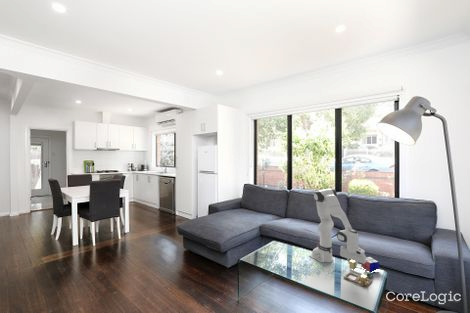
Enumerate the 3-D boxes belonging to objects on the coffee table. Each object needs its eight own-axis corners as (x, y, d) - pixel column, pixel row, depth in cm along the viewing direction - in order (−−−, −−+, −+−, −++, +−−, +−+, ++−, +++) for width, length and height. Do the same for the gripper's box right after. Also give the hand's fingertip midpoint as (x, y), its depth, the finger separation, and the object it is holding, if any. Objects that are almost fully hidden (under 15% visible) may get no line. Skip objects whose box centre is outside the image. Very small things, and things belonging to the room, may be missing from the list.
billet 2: (360, 283, 188) (360, 276, 187) (362, 280, 191) (362, 273, 191) (364, 285, 185) (364, 277, 185) (366, 282, 188) (367, 275, 188)
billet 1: (349, 268, 194) (349, 261, 194) (351, 266, 197) (351, 259, 197) (353, 269, 191) (353, 262, 191) (356, 267, 194) (356, 260, 194)
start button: (366, 275, 196) (366, 272, 196) (367, 273, 198) (367, 271, 198) (370, 276, 194) (370, 273, 194) (371, 275, 196) (371, 272, 196)
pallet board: (343, 278, 194) (343, 276, 194) (349, 273, 202) (349, 271, 202) (366, 288, 181) (366, 286, 181) (372, 282, 189) (372, 280, 189)
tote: (349, 271, 206) (349, 269, 206) (353, 267, 212) (353, 265, 212) (363, 276, 197) (363, 274, 197) (367, 272, 203) (367, 270, 203)
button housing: (364, 277, 196) (364, 273, 196) (366, 275, 199) (366, 271, 199) (370, 279, 192) (371, 276, 192) (373, 277, 196) (373, 274, 196)
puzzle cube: (369, 274, 201) (370, 263, 201) (360, 268, 211) (361, 258, 210) (378, 272, 204) (379, 261, 203) (369, 267, 213) (369, 256, 213)
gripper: (338, 246, 199) (338, 261, 200) (364, 253, 184) (364, 270, 184) (341, 244, 204) (342, 259, 204) (366, 251, 188) (366, 267, 188)
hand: (352, 264), depth 194 cm, fingers closed on billet 1, 3 cm apart
